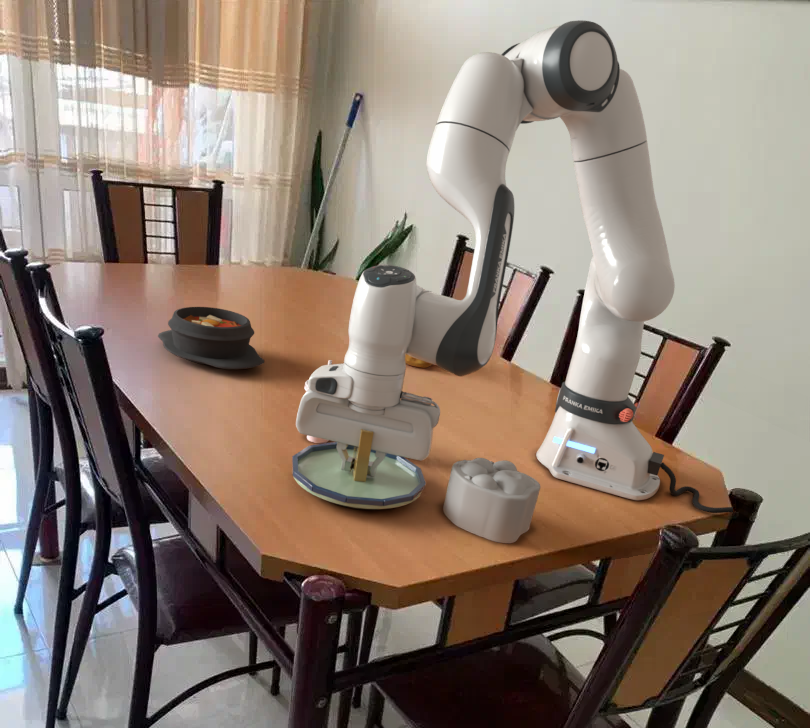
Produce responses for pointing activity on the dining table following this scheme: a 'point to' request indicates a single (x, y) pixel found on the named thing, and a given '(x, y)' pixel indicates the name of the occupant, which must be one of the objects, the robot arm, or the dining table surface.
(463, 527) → the lumpy-topped squat cylinder
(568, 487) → the dining table surface
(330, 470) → the plate
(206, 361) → the casserole
